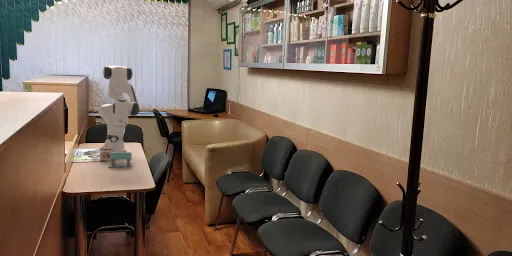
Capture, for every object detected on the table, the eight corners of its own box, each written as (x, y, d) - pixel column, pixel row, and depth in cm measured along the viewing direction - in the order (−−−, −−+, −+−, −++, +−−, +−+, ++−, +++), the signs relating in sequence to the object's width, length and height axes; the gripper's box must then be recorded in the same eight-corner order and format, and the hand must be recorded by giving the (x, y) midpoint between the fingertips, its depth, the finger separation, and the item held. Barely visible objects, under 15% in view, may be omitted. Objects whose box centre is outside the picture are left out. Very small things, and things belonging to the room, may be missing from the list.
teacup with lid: (98, 160, 306) (98, 145, 304) (100, 158, 315) (100, 143, 313) (115, 160, 308) (115, 145, 307) (117, 158, 317) (117, 143, 315)
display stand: (109, 164, 297) (110, 156, 296) (133, 164, 301) (133, 156, 300) (108, 167, 287) (108, 160, 286) (132, 167, 291) (132, 160, 290)
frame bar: (110, 158, 293) (110, 151, 292) (131, 158, 296) (131, 152, 295) (110, 159, 290) (110, 152, 290) (131, 159, 294) (131, 152, 293)
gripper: (118, 119, 298) (117, 138, 301) (115, 123, 279) (114, 143, 281) (127, 119, 300) (126, 138, 302) (125, 124, 280) (124, 144, 283)
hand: (121, 140), depth 291 cm, fingers open, 8 cm apart
